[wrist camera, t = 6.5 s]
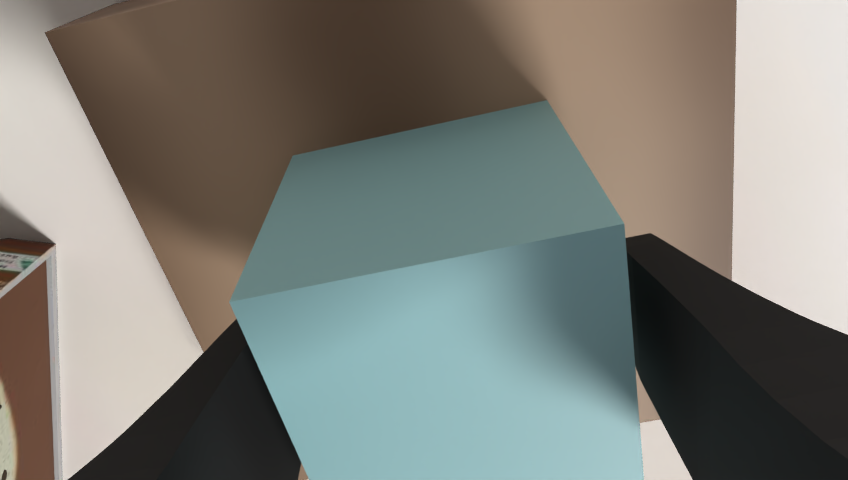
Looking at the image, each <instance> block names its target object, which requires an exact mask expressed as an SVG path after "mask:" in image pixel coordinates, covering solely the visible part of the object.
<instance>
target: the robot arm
mask: <svg viewBox="0 0 848 480" xmlns="http://www.w3.org/2000/svg"><path fill="white" fill-rule="evenodd" d="M625 239H626V252H627V265H628V278H629V291H630V304H631V317H632V330H633V343H634V357H635V367H636V370H637V372H638V375H639V377H640V380H641V382H642V384H643V386H644V388H645V390H646V392H647V394H648V396H649V398H650V400H651V402H652V403H653V405H654V407H655V409H656V411H657V413H658V415H659V417H660V419H661V421H662V422H663V424H664V426H665V428H666V430H667V432H668V434H669V436H670V438H671V439H672V441H673V443H674V445H675V447H676V449H677V451H678V453H679V454H680V456H681V458H682V460H683V462H684V464H685V466H686V468H687V469H688V471H689V473H690V475H691V477H692V479H693V480H848V335H847V334H844V333H842V332H839V331H837V330H834V329H832V328H829V327H827V326H824V325H822V324H819V323H817V322H814V321H812V320H810V319H808V318H805V317H803V316H801V315H798V314H796V313H794V312H792V311H790V310H788V309H786V308H784V307H782V306H780V305H778V304H776V303H774V302H771V301H769V300H767V299H765V298H763V297H761V296H759V295H757V294H755V293H754V292H752V291H750V290H748V289H746V288H744V287H742V286H740V285H738V284H737V283H735V282H733V281H731V280H729V279H728V278H726V277H724V276H722V275H721V274H719V273H717V272H715V271H714V270H712V269H710V268H708V267H707V266H705V265H703V264H702V263H700V262H698V261H697V260H695V259H693V258H692V257H690V256H688V255H687V254H685V253H683V252H682V251H680V250H678V249H677V248H675V247H674V246H672V245H670V244H669V243H667V242H665V241H664V240H662V239H660V238H659V237H657V236H655V235H653V234H652V233H648V234H643V235H638V236H633V237H628V238H625ZM300 467H301V461H300V458H299V456H298V454H297V452H296V449H295V447H294V445H293V443H292V441H291V438H290V436H289V434H288V432H287V429H286V427H285V425H284V423H283V421H282V418H281V416H280V414H279V412H278V410H277V407H276V405H275V403H274V401H273V398H272V396H271V394H270V392H269V390H268V387H267V385H266V383H265V381H264V378H263V376H262V374H261V372H260V370H259V367H258V365H257V363H256V361H255V358H254V356H253V354H252V352H251V350H250V347H249V345H248V343H247V341H246V338H245V336H244V334H243V332H242V330H241V327H240V325H239V323H238V321H237V319H236V320H235V321H234V322H233V323H232V324H231V325H230V326H229V327H228V328H227V329H226V330H225V331H224V332H223V333H222V334H221V335H220V336H219V337H218V338H217V339H216V340H215V341H214V342H213V343H212V344H211V345H210V347H209V348H208V349H207V350H206V351H205V352H204V353H203V354H202V355H201V356H200V357H199V358H198V359H197V360H196V361H195V362H194V363H193V364H192V366H191V367H190V368H189V369H188V370H187V371H186V372H185V373H184V374H183V375H182V376H181V377H180V378H179V379H178V380H177V381H176V382H175V383H174V384H173V385H172V386H171V387H170V388H169V389H168V390H167V391H166V392H165V393H164V394H163V395H162V396H161V397H160V398H159V399H158V400H157V401H156V402H155V403H154V404H153V405H152V406H151V407H150V408H149V409H148V410H147V411H146V412H145V413H144V414H143V415H142V416H141V417H140V418H139V419H137V420H136V421H135V422H134V423H133V424H132V425H131V426H130V427H129V428H128V429H127V430H126V431H125V432H124V433H123V434H122V435H120V436H119V437H118V438H117V439H116V440H115V441H114V442H113V443H111V444H110V445H109V446H108V447H107V448H106V449H105V450H103V451H102V452H101V453H100V454H99V455H97V456H96V457H95V458H94V459H93V460H91V461H90V462H89V463H88V464H87V465H85V466H84V467H83V468H82V469H80V470H79V471H78V472H77V473H76V474H74V475H73V476H72V477H71V478H69V479H68V480H298V477H299V472H300Z"/></svg>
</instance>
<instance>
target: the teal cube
mask: <svg viewBox="0 0 848 480" xmlns="http://www.w3.org/2000/svg"><path fill="white" fill-rule="evenodd" d="M229 303H230V305H231V307H232V310H233V312H234V314H235V316H236V318H237V321H238V323H239V325H240V327H241V330H242V332H243V334H244V336H245V338H246V341H247V343H248V345H249V347H250V350H251V352H252V354H253V356H254V358H255V361H256V363H257V365H258V367H259V370H260V372H261V374H262V376H263V378H264V381H265V383H266V385H267V387H268V390H269V392H270V394H271V396H272V398H273V401H274V403H275V405H276V407H277V410H278V412H279V414H280V416H281V418H282V421H283V423H284V425H285V427H286V429H287V432H288V434H289V436H290V438H291V441H292V443H293V445H294V447H295V449H296V452H297V454H298V456H299V458H300V461H301V463H302V465H303V467H304V469H305V472H306V474H307V476H308V478H309V480H644V475H643V461H642V448H641V435H640V422H639V409H638V396H637V383H636V370H635V357H634V343H633V330H632V317H631V304H630V291H629V278H628V265H627V252H626V239H625V225H624V222H623V221H622V219H621V218H620V216H619V214H618V213H617V211H616V210H615V208H614V206H613V205H612V203H611V202H610V200H609V198H608V197H607V195H606V194H605V192H604V190H603V189H602V187H601V186H600V184H599V182H598V181H597V179H596V178H595V176H594V174H593V173H592V171H591V170H590V168H589V166H588V165H587V163H586V162H585V160H584V158H583V157H582V155H581V154H580V152H579V150H578V149H577V147H576V146H575V144H574V142H573V141H572V139H571V138H570V136H569V134H568V133H567V131H566V130H565V128H564V126H563V125H562V123H561V122H560V120H559V118H558V117H557V115H556V114H555V112H554V110H553V109H552V107H551V106H550V104H549V102H548V101H547V100H545V101H541V102H536V103H532V104H527V105H522V106H518V107H513V108H509V109H504V110H499V111H495V112H490V113H486V114H481V115H477V116H472V117H467V118H463V119H458V120H454V121H449V122H444V123H440V124H435V125H431V126H426V127H422V128H417V129H412V130H408V131H403V132H399V133H394V134H389V135H385V136H380V137H376V138H371V139H367V140H362V141H357V142H353V143H348V144H344V145H339V146H334V147H330V148H325V149H321V150H316V151H312V152H307V153H302V154H298V155H293V156H292V158H291V161H290V163H289V165H288V168H287V170H286V172H285V175H284V177H283V179H282V181H281V184H280V186H279V188H278V191H277V193H276V195H275V198H274V200H273V202H272V204H271V207H270V209H269V211H268V214H267V216H266V218H265V221H264V223H263V225H262V228H261V230H260V232H259V234H258V237H257V239H256V241H255V244H254V246H253V248H252V251H251V253H250V255H249V257H248V260H247V262H246V264H245V267H244V269H243V271H242V274H241V276H240V278H239V281H238V283H237V285H236V287H235V290H234V292H233V294H232V297H231V299H230V301H229Z"/></svg>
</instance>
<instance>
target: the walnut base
mask: <svg viewBox="0 0 848 480" xmlns="http://www.w3.org/2000/svg"><path fill="white" fill-rule="evenodd" d="M45 34H46V36H47V38H48V40H49V42H50V44H51V46H52V48H53V50H54V52H55V54H56V56H57V58H58V60H59V62H60V64H61V66H62V68H63V70H64V72H65V74H66V76H67V78H68V80H69V82H70V84H71V86H72V88H73V90H74V92H75V94H76V96H77V98H78V100H79V102H80V104H81V106H82V108H83V110H84V112H85V114H86V116H87V118H88V120H89V122H90V125H91V127H92V129H93V131H94V133H95V135H96V137H97V139H98V141H99V143H100V145H101V147H102V149H103V151H104V153H105V155H106V157H107V159H108V161H109V163H110V165H111V167H112V169H113V171H114V173H115V175H116V177H117V179H118V181H119V183H120V185H121V187H122V189H123V191H124V193H125V195H126V197H127V199H128V201H129V203H130V205H131V207H132V209H133V211H134V213H135V215H136V217H137V219H138V221H139V223H140V225H141V227H142V229H143V231H144V233H145V235H146V237H147V239H148V241H149V243H150V245H151V247H152V249H153V251H154V253H155V255H156V257H157V259H158V261H159V263H160V265H161V267H162V269H163V271H164V273H165V275H166V277H167V279H168V281H169V283H170V285H171V287H172V289H173V291H174V293H175V295H176V297H177V299H178V301H179V303H180V305H181V307H182V309H183V311H184V313H185V316H186V318H187V320H188V322H189V324H190V326H191V328H192V330H193V332H194V334H195V336H196V338H197V340H198V342H199V344H200V346H201V348H202V350H203V352H205V351H206V350H207V349H208V348H209V347H210V345H211V344H212V343H213V342H214V341H215V340H216V339H217V338H218V337H219V336H220V335H221V334H222V333H223V332H224V331H225V330H226V329H227V328H228V327H229V326H230V325H231V324H232V323H233V322H234V321H235V320H236V319H237V318H236V316H235V314H234V312H233V310H232V307H231V305H230V303H229V301H230V299H231V297H232V294H233V292H234V290H235V287H236V285H237V283H238V281H239V278H240V276H241V274H242V271H243V269H244V267H245V264H246V262H247V260H248V257H249V255H250V253H251V251H252V248H253V246H254V244H255V241H256V239H257V237H258V234H259V232H260V230H261V228H262V225H263V223H264V221H265V218H266V216H267V214H268V211H269V209H270V207H271V204H272V202H273V200H274V198H275V195H276V193H277V191H278V188H279V186H280V184H281V181H282V179H283V177H284V175H285V172H286V170H287V168H288V165H289V163H290V161H291V158H292V156H293V155H298V154H302V153H307V152H312V151H316V150H321V149H325V148H330V147H334V146H339V145H344V144H348V143H353V142H357V141H362V140H367V139H371V138H376V137H380V136H385V135H389V134H394V133H399V132H403V131H408V130H412V129H417V128H422V127H426V126H431V125H435V124H440V123H444V122H449V121H454V120H458V119H463V118H467V117H472V116H477V115H481V114H486V113H490V112H495V111H499V110H504V109H509V108H513V107H518V106H522V105H527V104H532V103H536V102H541V101H545V100H547V101H548V102H549V104H550V106H551V107H552V109H553V110H554V112H555V114H556V115H557V117H558V118H559V120H560V122H561V123H562V125H563V126H564V128H565V130H566V131H567V133H568V134H569V136H570V138H571V139H572V141H573V142H574V144H575V146H576V147H577V149H578V150H579V152H580V154H581V155H582V157H583V158H584V160H585V162H586V163H587V165H588V166H589V168H590V170H591V171H592V173H593V174H594V176H595V178H596V179H597V181H598V182H599V184H600V186H601V187H602V189H603V190H604V192H605V194H606V195H607V197H608V198H609V200H610V202H611V203H612V205H613V206H614V208H615V210H616V211H617V213H618V214H619V216H620V218H621V219H622V221H623V222H624V225H625V238H628V237H633V236H638V235H643V234H648V233H652V234H653V235H655V236H657V237H659V238H660V239H662V240H664V241H665V242H667V243H669V244H670V245H672V246H674V247H675V248H677V249H678V250H680V251H682V252H683V253H685V254H687V255H688V256H690V257H692V258H693V259H695V260H697V261H698V262H700V263H702V264H703V265H705V266H707V267H708V268H710V269H712V270H714V271H715V272H717V273H719V274H721V275H722V276H724V277H726V278H728V279H729V280H732V224H733V167H734V111H735V55H736V0H129V1H125V2H121V3H117V4H113V5H111V6H108V7H106V8H104V9H101V10H99V11H96V12H94V13H91V14H89V15H86V16H84V17H81V18H79V19H77V20H74V21H72V22H69V23H67V24H64V25H62V26H59V27H57V28H55V29H52V30H50V31H47V32H45ZM635 370H636V367H635ZM636 383H637V396H638V409H639V422H640V423H642V422H647V421H653V420H659V419H660V417H659V415H658V413H657V411H656V409H655V407H654V405H653V403H652V402H651V400H650V398H649V396H648V394H647V392H646V390H645V388H644V386H643V384H642V382H641V380H640V377H639V375H638V372H637V370H636ZM306 479H309V478H308V476H307V474H306V472H305V469H304V467H303V465H302V463H301V467H300V472H299V477H298V480H306Z"/></svg>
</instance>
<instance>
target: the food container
mask: <svg viewBox="0 0 848 480" xmlns="http://www.w3.org/2000/svg"><path fill="white" fill-rule="evenodd" d="M0 480H63V477H62V443H61V409H60V376H59V342H58V308H57V274H56V244H51V243H43V242H35V241H27V240H19V239H11V238H8V239H0Z"/></svg>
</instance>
